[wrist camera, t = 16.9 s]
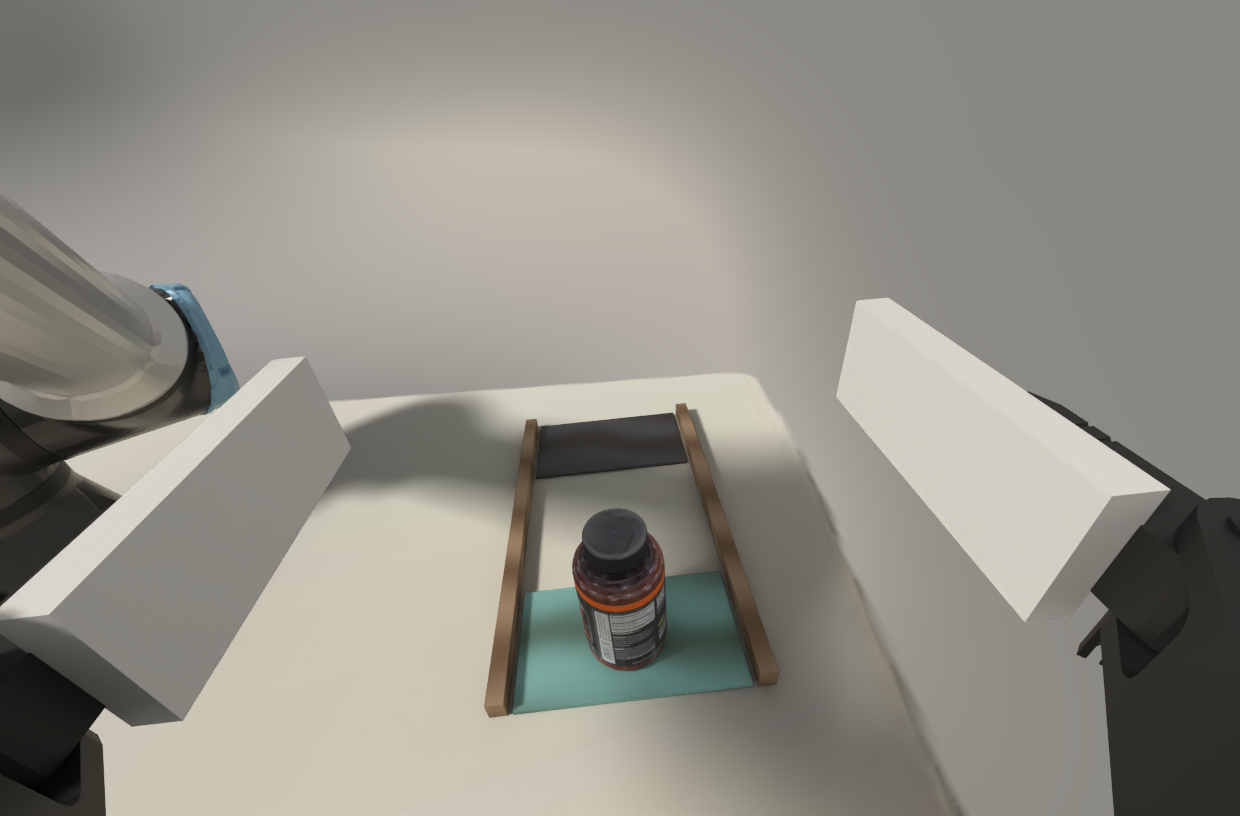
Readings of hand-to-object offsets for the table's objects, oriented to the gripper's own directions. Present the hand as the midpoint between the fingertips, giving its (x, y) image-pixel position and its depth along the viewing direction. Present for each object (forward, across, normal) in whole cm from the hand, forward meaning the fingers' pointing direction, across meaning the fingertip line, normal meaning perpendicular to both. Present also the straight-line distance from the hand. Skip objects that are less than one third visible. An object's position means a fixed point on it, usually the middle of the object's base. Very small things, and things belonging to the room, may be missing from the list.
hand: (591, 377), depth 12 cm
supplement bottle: (+10, 0, -28) cm, 30 cm away
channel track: (+21, 0, -28) cm, 35 cm away
